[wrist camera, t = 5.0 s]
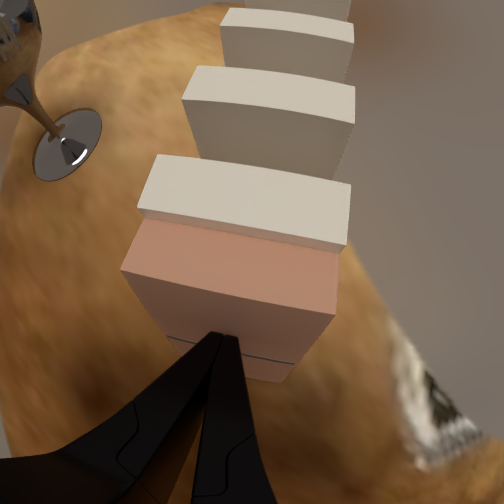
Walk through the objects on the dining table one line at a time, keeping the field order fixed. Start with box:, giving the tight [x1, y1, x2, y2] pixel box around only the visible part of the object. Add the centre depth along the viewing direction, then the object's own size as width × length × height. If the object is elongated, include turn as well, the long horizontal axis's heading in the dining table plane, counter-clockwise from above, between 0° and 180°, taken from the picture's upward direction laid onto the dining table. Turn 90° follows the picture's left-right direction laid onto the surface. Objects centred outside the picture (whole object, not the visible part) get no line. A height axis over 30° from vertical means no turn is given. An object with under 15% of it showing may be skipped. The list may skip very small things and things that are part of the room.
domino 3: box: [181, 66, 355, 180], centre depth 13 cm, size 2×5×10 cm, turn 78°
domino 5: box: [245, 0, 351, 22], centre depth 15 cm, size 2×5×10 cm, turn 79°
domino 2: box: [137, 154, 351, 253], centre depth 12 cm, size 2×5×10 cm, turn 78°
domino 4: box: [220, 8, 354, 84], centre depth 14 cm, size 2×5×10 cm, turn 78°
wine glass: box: [0, 0, 102, 181], centre depth 13 cm, size 8×8×15 cm
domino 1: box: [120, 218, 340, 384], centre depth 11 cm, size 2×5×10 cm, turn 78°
